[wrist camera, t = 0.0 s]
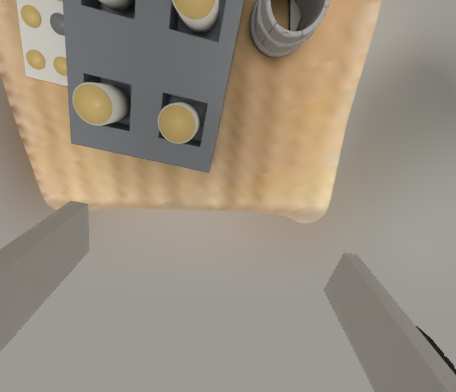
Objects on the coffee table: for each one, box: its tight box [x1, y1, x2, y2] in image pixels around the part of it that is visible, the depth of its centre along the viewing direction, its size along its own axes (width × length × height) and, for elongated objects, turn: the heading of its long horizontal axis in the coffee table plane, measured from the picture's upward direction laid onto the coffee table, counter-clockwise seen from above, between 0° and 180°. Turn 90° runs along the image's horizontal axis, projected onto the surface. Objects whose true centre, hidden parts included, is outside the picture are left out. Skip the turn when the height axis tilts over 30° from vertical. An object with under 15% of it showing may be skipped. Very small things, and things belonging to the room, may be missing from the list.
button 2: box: [172, 0, 220, 33], centre depth 25 cm, size 5×5×5 cm
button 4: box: [158, 102, 201, 144], centre depth 30 cm, size 5×5×5 cm
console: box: [63, 0, 244, 173], centre depth 30 cm, size 26×20×5 cm
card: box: [16, 0, 68, 86], centre depth 31 cm, size 10×7×1 cm
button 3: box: [72, 82, 130, 126], centre depth 29 cm, size 5×5×5 cm
